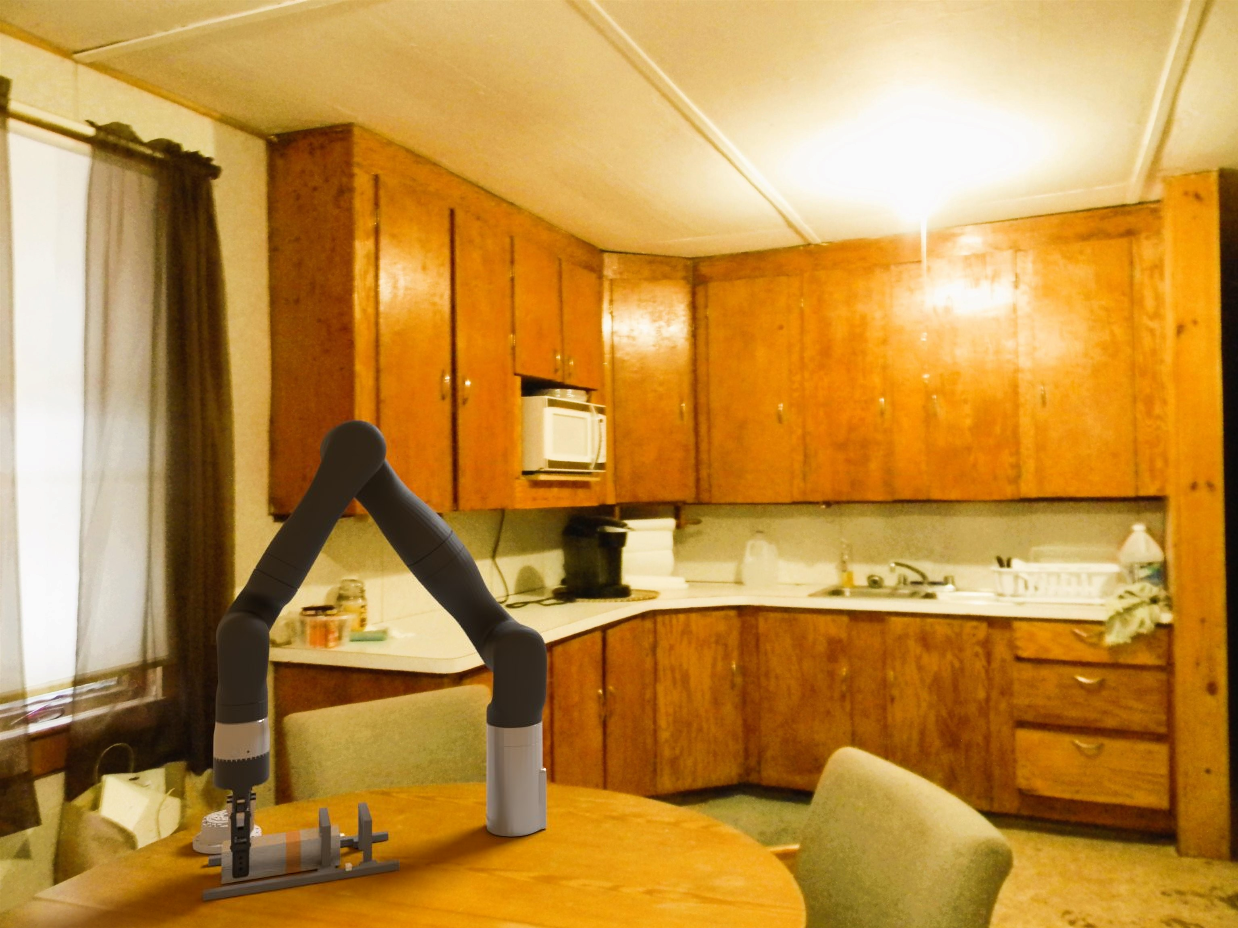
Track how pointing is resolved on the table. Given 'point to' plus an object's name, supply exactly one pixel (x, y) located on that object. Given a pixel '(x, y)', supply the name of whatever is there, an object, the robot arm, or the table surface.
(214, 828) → the mechanical component
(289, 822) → the table surface
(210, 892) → the collar frame
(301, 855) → the bar
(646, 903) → the table surface
